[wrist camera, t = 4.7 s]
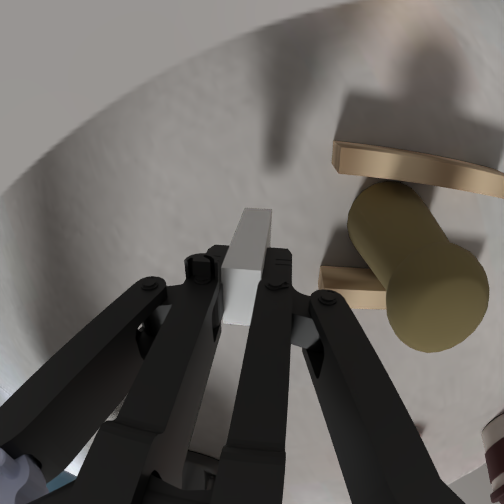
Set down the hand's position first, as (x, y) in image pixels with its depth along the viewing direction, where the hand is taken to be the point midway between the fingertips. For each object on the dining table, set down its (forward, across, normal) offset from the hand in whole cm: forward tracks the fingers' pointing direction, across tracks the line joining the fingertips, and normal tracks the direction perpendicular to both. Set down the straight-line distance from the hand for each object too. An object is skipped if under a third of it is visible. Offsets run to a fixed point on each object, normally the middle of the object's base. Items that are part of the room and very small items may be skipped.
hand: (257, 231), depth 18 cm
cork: (+4, +9, 0) cm, 10 cm away
